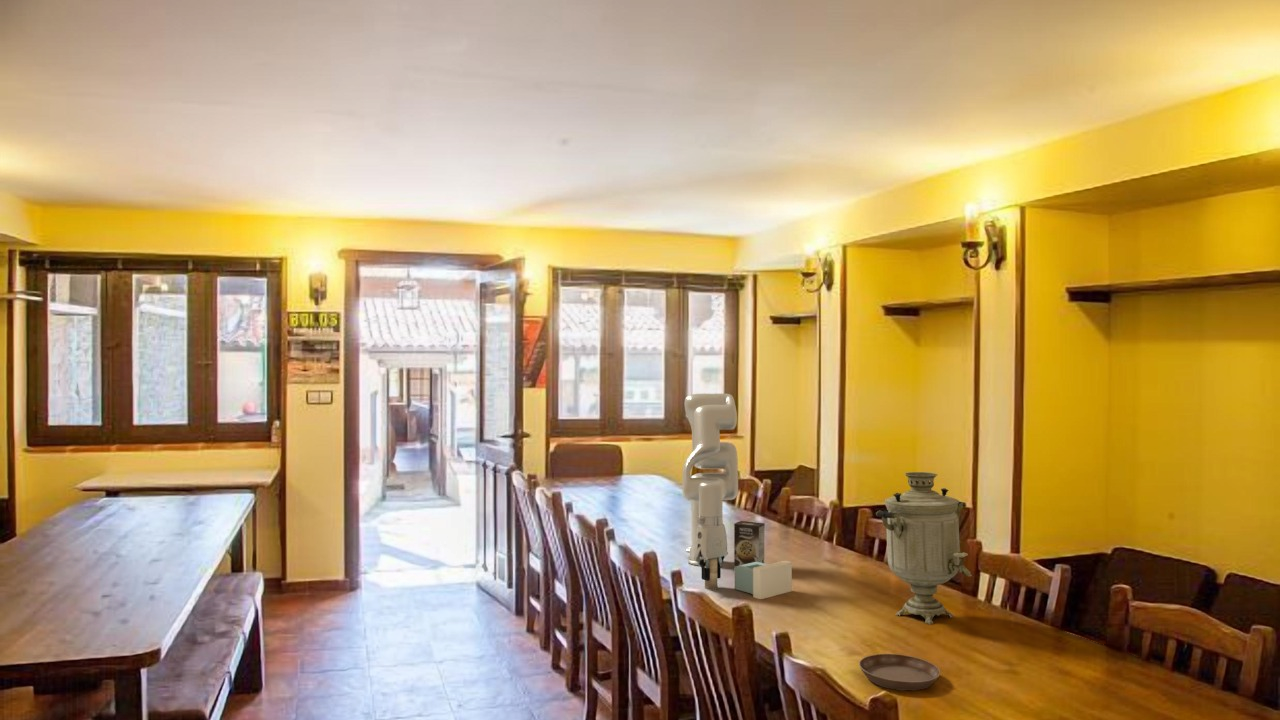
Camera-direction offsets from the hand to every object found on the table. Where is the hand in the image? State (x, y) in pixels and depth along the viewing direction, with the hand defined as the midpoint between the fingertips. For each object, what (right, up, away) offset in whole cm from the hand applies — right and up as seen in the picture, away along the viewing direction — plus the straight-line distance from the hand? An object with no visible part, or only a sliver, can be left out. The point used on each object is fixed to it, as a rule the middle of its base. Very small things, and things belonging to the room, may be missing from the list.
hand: (711, 578), depth 274 cm
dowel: (0, -3, 0) cm, 3 cm away
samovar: (+58, -3, -33) cm, 67 cm away
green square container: (+14, -3, -3) cm, 15 cm away
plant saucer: (+36, -4, -77) cm, 85 cm away
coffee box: (+15, -3, +22) cm, 27 cm away
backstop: (+18, -3, -8) cm, 20 cm away
